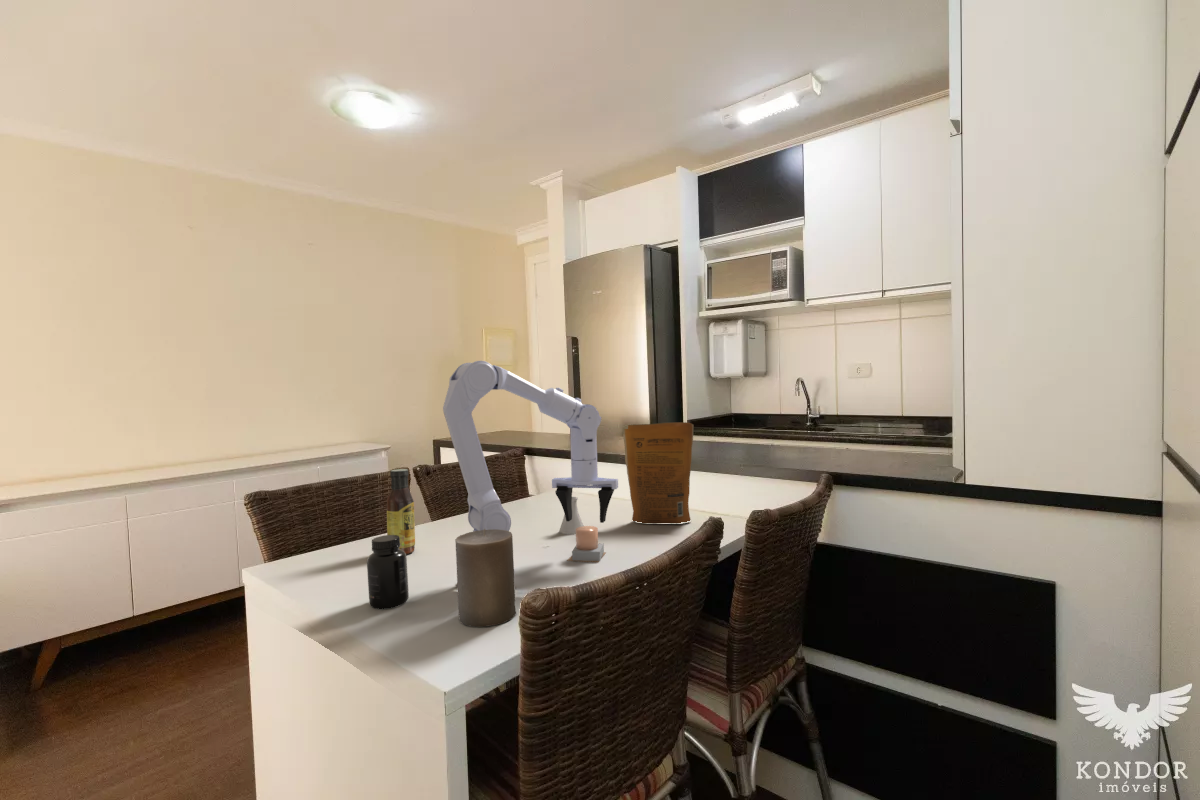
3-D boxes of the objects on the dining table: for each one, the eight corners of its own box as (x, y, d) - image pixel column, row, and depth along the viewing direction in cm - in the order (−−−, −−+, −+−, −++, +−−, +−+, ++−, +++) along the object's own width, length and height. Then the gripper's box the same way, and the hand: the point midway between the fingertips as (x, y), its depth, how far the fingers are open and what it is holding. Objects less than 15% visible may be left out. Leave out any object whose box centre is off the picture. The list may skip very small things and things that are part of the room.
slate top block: (600, 560, 118) (599, 551, 118) (572, 560, 119) (572, 551, 119) (603, 552, 124) (603, 543, 124) (577, 551, 125) (577, 543, 125)
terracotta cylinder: (585, 551, 118) (585, 533, 118) (571, 547, 122) (571, 529, 122) (602, 546, 121) (602, 528, 121) (588, 542, 125) (588, 524, 125)
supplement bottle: (396, 592, 107) (393, 531, 106) (416, 601, 102) (413, 536, 102) (361, 604, 101) (358, 539, 101) (381, 613, 97) (378, 545, 97)
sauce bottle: (410, 556, 129) (406, 471, 129) (383, 557, 130) (380, 472, 129) (419, 548, 136) (416, 467, 135) (394, 548, 136) (391, 468, 136)
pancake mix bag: (695, 527, 148) (693, 422, 147) (625, 525, 152) (622, 423, 151) (696, 520, 155) (693, 421, 154) (628, 519, 159) (626, 421, 158)
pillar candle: (527, 613, 95) (524, 526, 95) (480, 633, 88) (476, 539, 88) (492, 600, 102) (489, 519, 101) (446, 618, 94) (442, 530, 94)
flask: (574, 541, 138) (573, 501, 138) (552, 537, 142) (551, 499, 142) (592, 534, 144) (590, 496, 143) (570, 531, 148) (569, 493, 148)
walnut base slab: (598, 571, 117) (598, 562, 117) (567, 569, 119) (566, 560, 119) (606, 561, 124) (606, 552, 124) (576, 559, 126) (576, 550, 126)
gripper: (620, 456, 123) (622, 517, 123) (558, 456, 126) (560, 515, 127) (613, 461, 116) (615, 525, 116) (547, 460, 120) (549, 523, 120)
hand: (585, 520), depth 121 cm, fingers open, 7 cm apart
